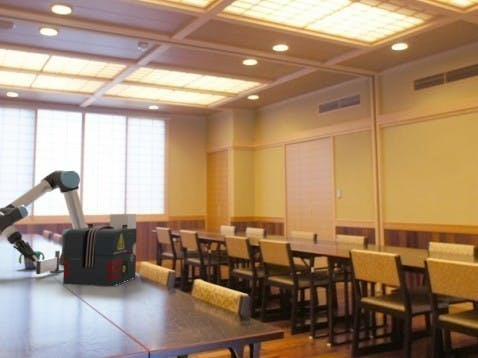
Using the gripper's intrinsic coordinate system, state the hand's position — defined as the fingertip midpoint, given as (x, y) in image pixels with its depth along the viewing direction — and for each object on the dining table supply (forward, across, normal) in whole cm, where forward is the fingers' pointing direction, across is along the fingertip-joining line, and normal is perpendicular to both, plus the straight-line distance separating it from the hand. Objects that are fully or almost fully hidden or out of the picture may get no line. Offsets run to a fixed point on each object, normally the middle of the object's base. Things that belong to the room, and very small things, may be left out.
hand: (39, 265), depth 272 cm
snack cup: (-9, -26, -17) cm, 32 cm away
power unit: (+34, +14, +25) cm, 44 cm away
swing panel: (+6, -1, +1) cm, 6 cm away
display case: (+35, -14, +27) cm, 46 cm away
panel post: (+7, -13, -1) cm, 15 cm away
